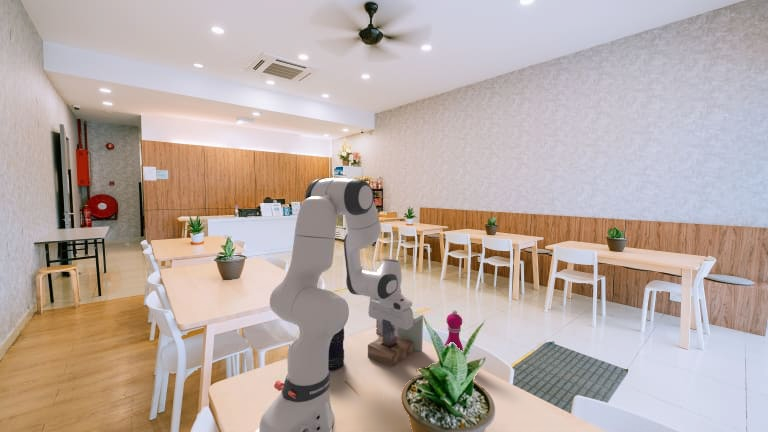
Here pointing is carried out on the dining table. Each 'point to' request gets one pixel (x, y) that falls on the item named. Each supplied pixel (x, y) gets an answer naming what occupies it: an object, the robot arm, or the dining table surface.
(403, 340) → the socket
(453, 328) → the pepper mill
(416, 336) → the pale green stepped block
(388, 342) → the peg
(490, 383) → the dining table surface
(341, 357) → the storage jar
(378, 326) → the tea bag
